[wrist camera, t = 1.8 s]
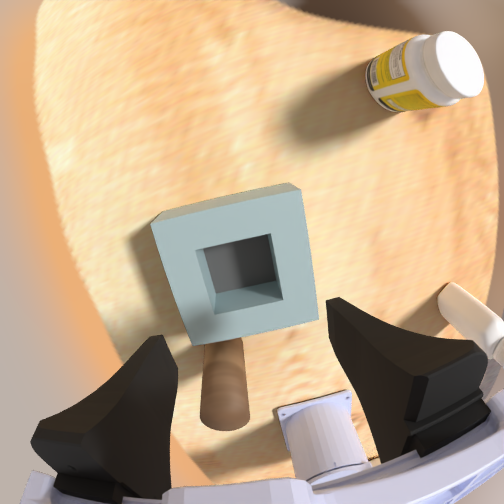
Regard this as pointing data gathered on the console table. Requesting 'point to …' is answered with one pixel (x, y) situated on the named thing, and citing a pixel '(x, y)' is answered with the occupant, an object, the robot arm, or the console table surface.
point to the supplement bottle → (425, 73)
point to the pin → (224, 386)
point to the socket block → (239, 263)
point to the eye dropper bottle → (473, 320)
